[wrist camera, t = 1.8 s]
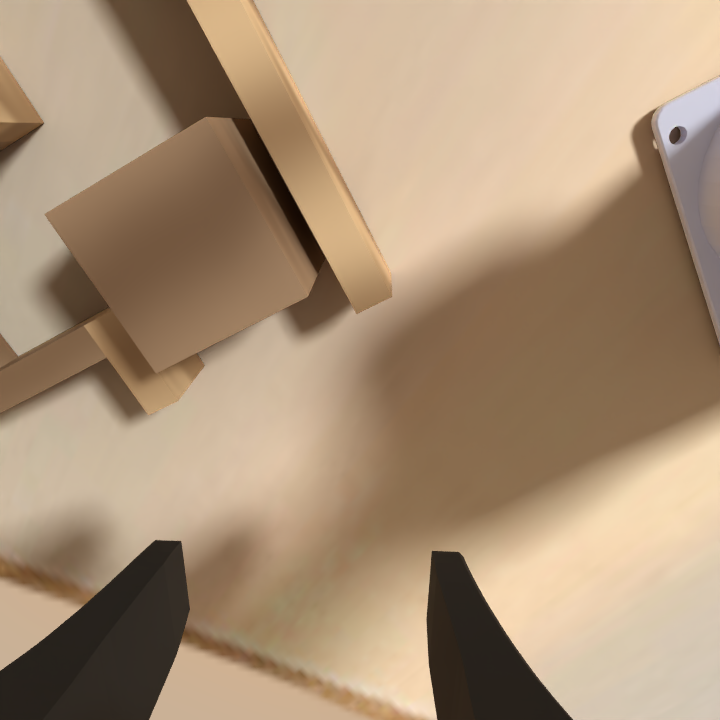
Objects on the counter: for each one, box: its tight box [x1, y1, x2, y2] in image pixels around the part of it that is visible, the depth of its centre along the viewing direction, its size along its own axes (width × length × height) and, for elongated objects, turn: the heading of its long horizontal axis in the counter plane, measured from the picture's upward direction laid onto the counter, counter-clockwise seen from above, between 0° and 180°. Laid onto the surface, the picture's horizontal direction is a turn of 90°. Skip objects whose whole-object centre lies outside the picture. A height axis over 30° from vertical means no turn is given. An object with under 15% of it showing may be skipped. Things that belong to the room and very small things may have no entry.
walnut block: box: [45, 117, 325, 373], centre depth 17 cm, size 5×5×5 cm
